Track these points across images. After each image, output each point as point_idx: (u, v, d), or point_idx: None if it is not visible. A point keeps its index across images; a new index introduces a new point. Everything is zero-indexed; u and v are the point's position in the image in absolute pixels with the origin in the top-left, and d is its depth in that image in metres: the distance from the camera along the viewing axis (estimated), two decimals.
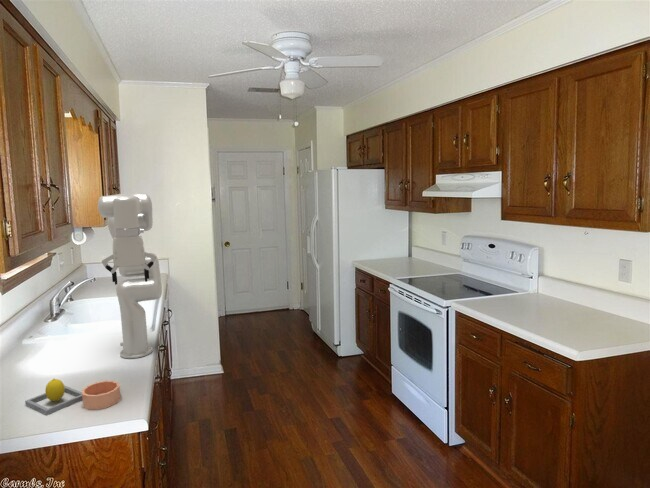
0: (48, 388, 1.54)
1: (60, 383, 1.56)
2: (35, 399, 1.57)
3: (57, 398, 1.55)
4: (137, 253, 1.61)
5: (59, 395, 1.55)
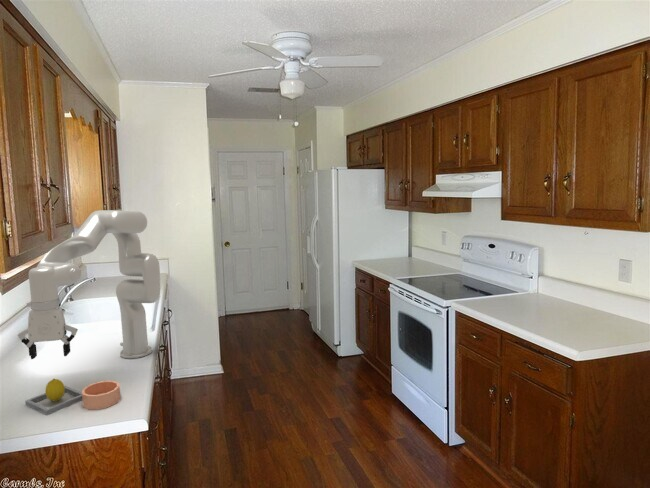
0: (48, 388, 1.54)
1: (60, 383, 1.56)
2: (35, 399, 1.57)
3: (57, 398, 1.55)
4: None
5: (59, 395, 1.55)
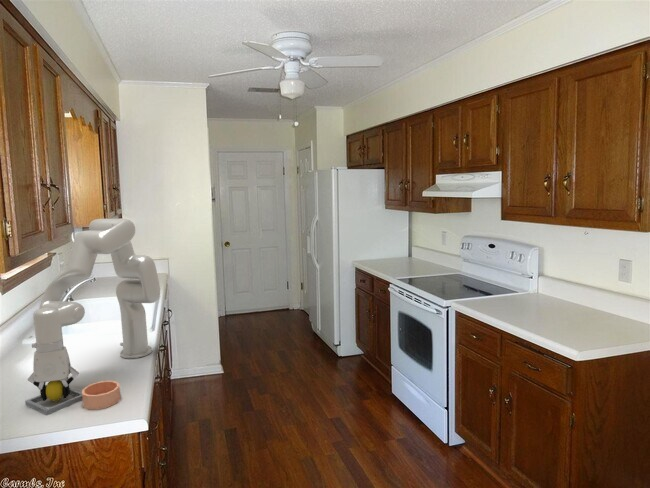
0: (48, 388, 1.54)
1: (60, 383, 1.56)
2: (35, 399, 1.57)
3: (57, 398, 1.55)
4: None
5: (59, 395, 1.55)
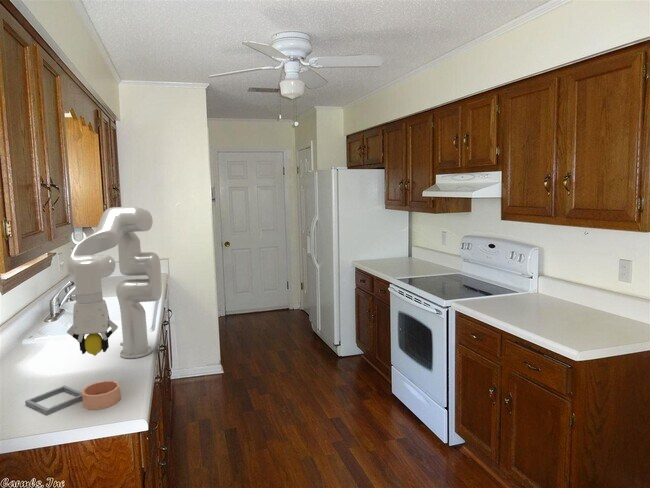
0: (87, 341, 1.51)
1: (99, 336, 1.53)
2: (35, 399, 1.57)
3: (96, 351, 1.53)
4: None
5: (98, 348, 1.53)
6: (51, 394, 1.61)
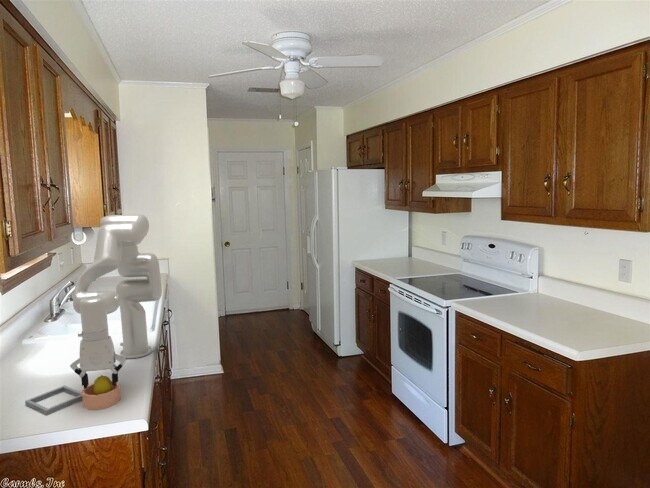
0: (96, 384, 1.54)
1: (108, 380, 1.56)
2: (35, 399, 1.57)
3: None
4: None
5: (107, 391, 1.55)
6: (51, 394, 1.61)
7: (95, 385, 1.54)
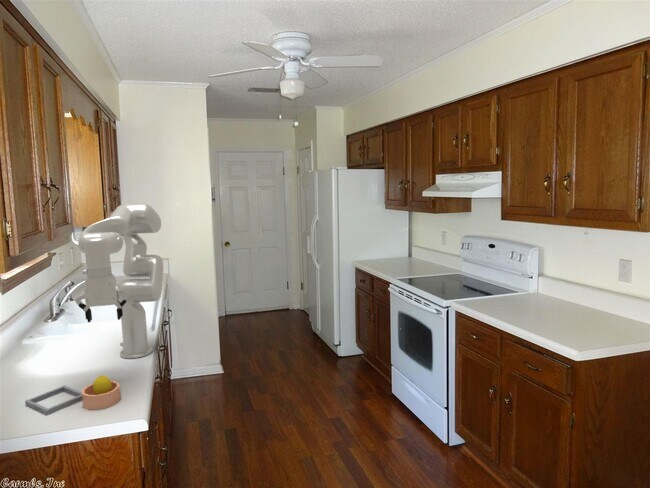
0: (96, 384, 1.54)
1: (107, 380, 1.56)
2: (35, 399, 1.57)
3: None
4: None
5: (107, 391, 1.55)
6: (51, 394, 1.61)
7: (95, 385, 1.54)
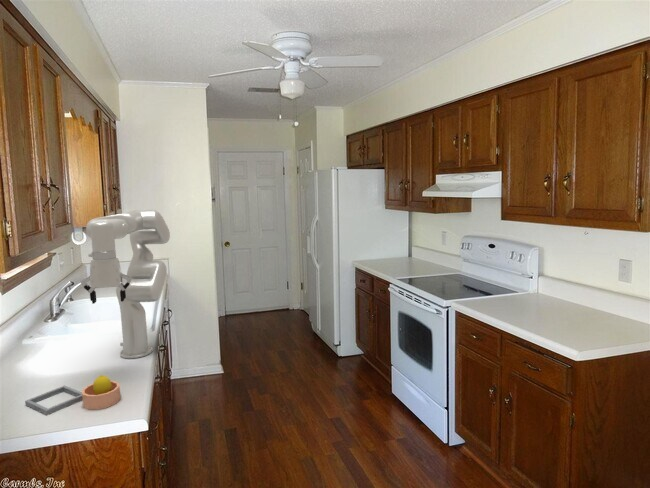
0: (96, 384, 1.54)
1: (107, 380, 1.56)
2: (35, 399, 1.57)
3: None
4: None
5: (107, 391, 1.55)
6: (51, 394, 1.61)
7: (95, 385, 1.54)
